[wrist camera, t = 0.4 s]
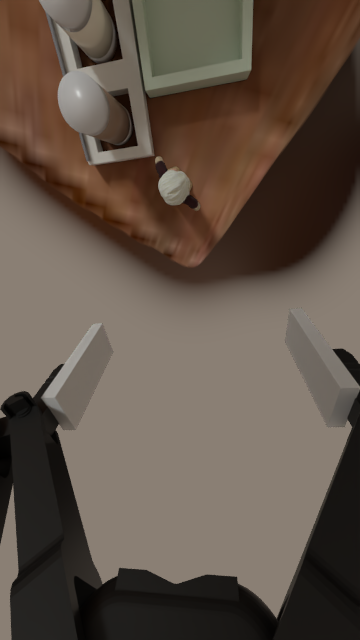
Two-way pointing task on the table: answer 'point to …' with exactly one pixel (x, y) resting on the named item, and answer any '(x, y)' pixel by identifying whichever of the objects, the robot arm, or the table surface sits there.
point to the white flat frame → (112, 84)
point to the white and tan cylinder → (93, 109)
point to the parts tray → (193, 43)
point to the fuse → (85, 26)
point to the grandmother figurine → (174, 185)
